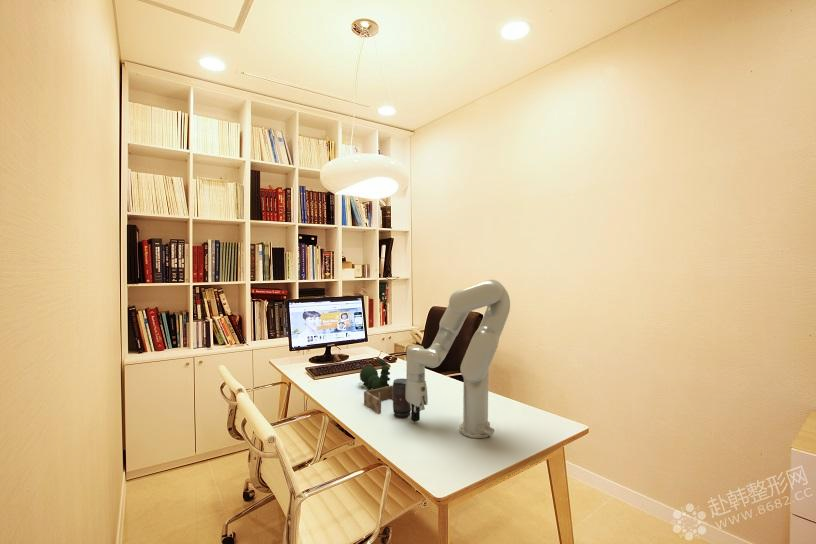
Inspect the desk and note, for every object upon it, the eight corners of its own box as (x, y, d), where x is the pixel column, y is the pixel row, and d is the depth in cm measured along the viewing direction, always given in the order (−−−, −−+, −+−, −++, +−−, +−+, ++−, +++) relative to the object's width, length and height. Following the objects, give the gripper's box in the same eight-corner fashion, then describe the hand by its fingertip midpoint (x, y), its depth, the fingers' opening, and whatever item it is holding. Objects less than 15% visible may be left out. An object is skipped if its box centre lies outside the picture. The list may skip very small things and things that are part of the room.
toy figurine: (393, 397, 187) (368, 380, 207) (395, 360, 185) (370, 346, 205) (377, 401, 181) (353, 383, 201) (379, 363, 179) (354, 349, 199)
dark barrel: (409, 419, 156) (409, 384, 156) (390, 418, 158) (390, 383, 158) (413, 412, 164) (413, 378, 164) (395, 410, 166) (395, 377, 165)
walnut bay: (407, 406, 171) (407, 386, 171) (378, 413, 162) (378, 393, 162) (392, 397, 182) (392, 379, 182) (364, 404, 173) (364, 385, 173)
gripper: (434, 379, 149) (434, 424, 149) (412, 370, 161) (412, 412, 161) (419, 382, 144) (419, 429, 145) (397, 373, 157) (397, 416, 157)
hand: (415, 420), depth 153 cm, fingers closed
